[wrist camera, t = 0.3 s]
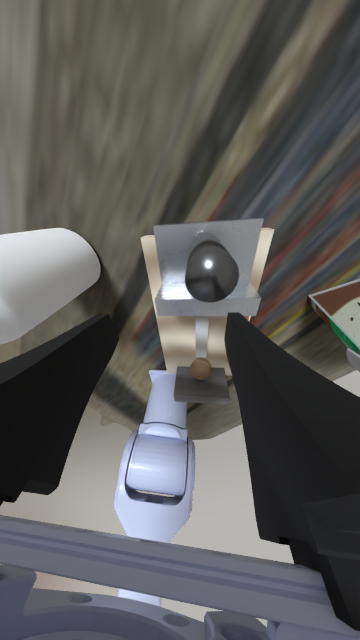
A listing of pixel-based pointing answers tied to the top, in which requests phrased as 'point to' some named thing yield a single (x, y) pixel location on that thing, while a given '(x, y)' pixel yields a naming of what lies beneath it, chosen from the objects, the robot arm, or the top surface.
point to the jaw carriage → (207, 267)
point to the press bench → (198, 336)
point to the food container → (342, 315)
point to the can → (41, 276)
